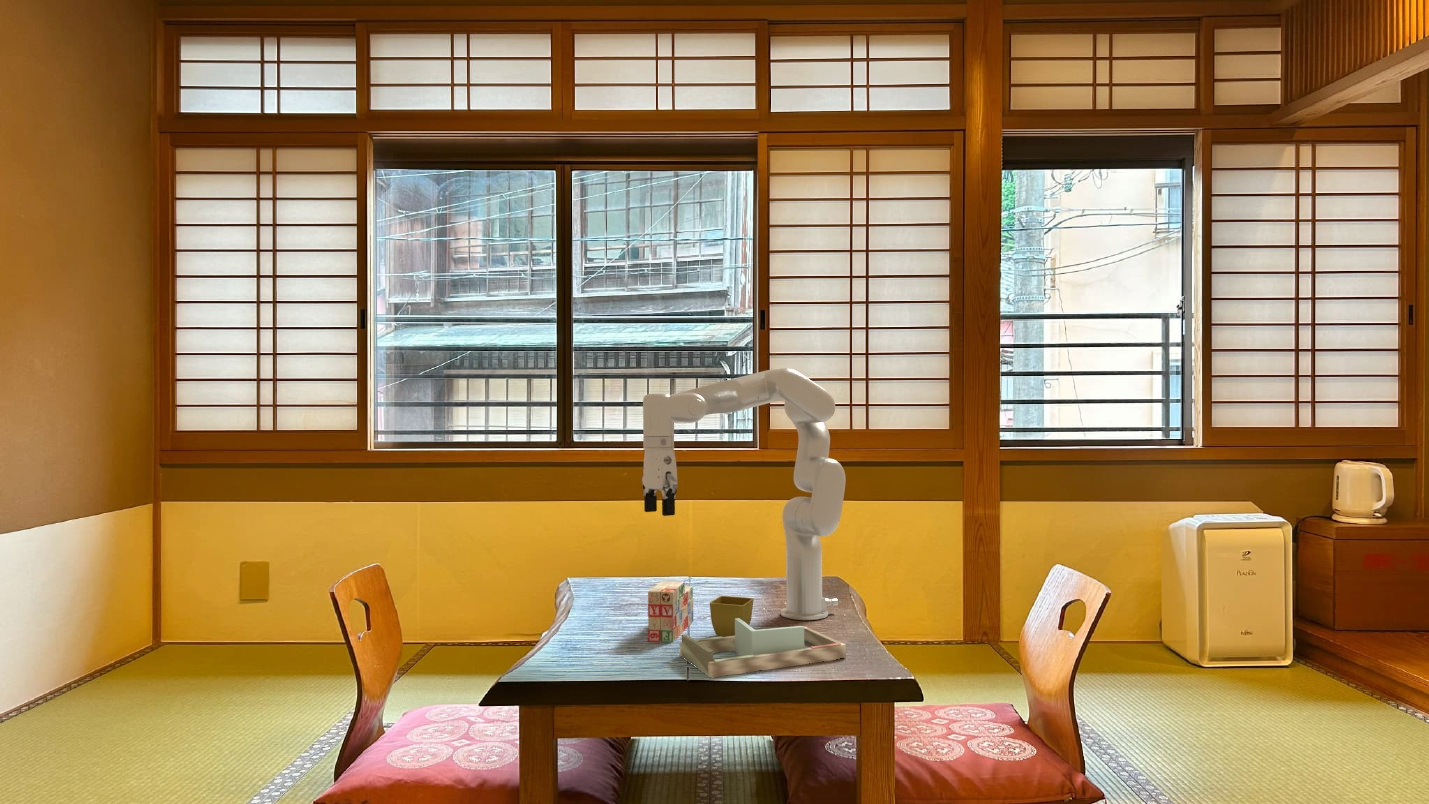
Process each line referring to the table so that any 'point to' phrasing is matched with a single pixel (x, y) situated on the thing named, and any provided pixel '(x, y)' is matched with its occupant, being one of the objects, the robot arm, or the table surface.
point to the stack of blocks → (669, 610)
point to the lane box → (704, 649)
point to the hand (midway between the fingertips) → (659, 513)
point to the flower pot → (729, 613)
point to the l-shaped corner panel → (766, 639)
